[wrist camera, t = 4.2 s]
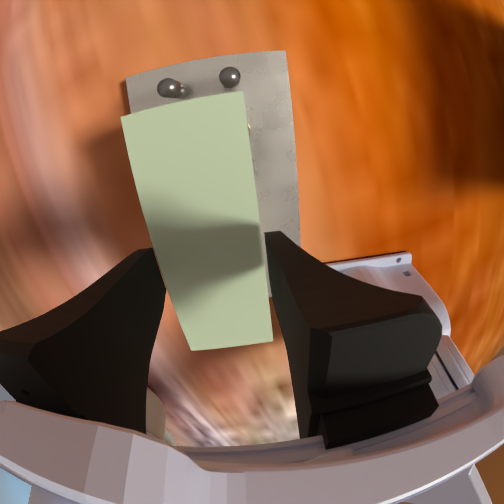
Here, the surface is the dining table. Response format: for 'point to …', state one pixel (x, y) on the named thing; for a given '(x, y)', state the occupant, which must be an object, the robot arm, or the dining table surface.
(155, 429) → the teacup
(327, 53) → the dining table surface
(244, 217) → the pale green rectangular block
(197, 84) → the plate
